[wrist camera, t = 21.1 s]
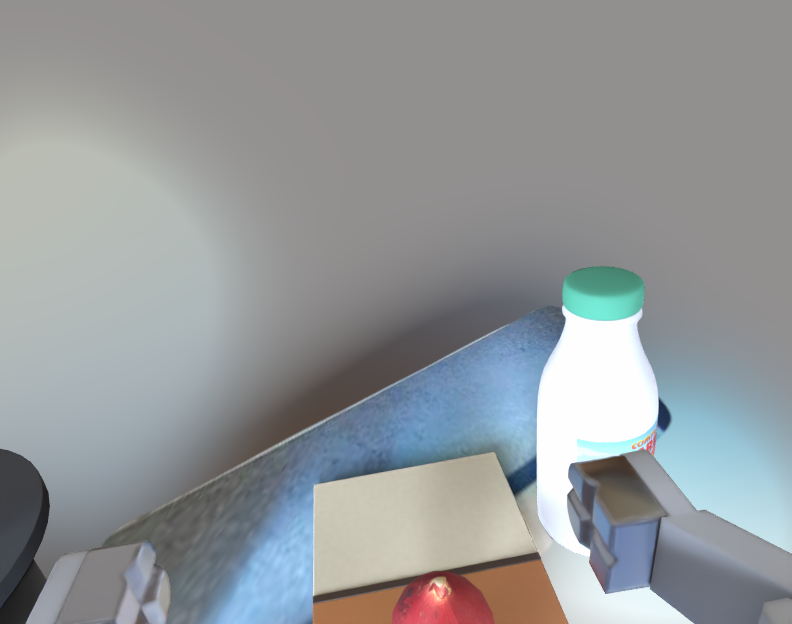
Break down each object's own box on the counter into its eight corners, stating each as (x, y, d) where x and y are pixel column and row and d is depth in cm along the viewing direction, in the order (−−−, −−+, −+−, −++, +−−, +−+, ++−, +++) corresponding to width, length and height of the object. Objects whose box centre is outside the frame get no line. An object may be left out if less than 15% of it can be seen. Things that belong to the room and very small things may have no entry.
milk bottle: (530, 548, 40) (527, 305, 31) (543, 473, 46) (543, 252, 37) (646, 572, 37) (681, 313, 28) (643, 489, 44) (670, 255, 34)
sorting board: (314, 805, 28) (310, 797, 28) (315, 491, 48) (313, 483, 47) (614, 739, 29) (615, 730, 29) (495, 457, 49) (494, 450, 48)
